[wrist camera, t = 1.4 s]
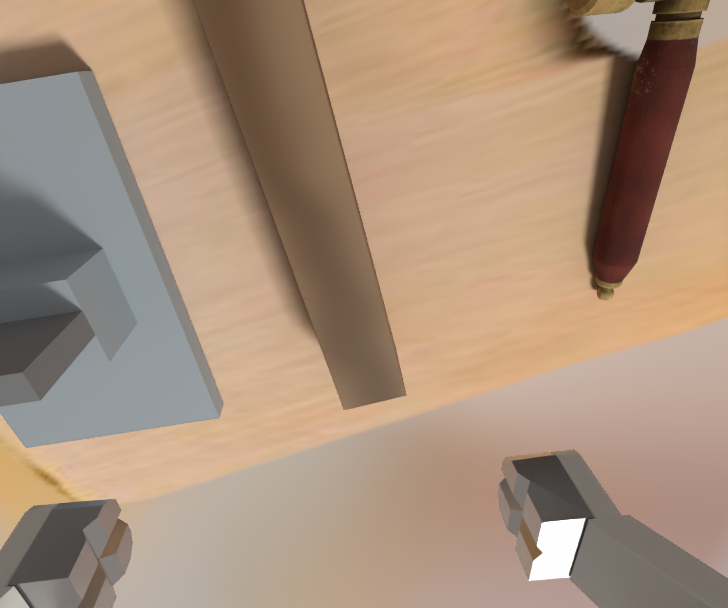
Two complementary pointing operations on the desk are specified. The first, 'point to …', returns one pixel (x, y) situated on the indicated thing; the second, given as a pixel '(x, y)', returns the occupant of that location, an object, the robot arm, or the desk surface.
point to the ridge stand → (85, 279)
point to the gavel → (643, 130)
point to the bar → (306, 185)
